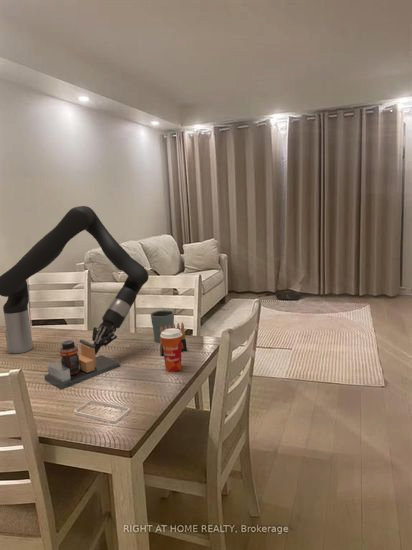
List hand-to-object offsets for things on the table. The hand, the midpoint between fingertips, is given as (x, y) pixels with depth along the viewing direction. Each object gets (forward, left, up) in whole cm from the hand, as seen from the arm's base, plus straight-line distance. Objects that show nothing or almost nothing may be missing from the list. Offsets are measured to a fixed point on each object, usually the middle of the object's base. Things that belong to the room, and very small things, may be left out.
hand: (92, 353), depth 145 cm
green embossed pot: (+28, +23, -6) cm, 37 cm away
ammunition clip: (+30, +6, -6) cm, 31 cm away
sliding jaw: (-2, -2, -4) cm, 5 cm away
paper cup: (+28, -9, -6) cm, 30 cm away
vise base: (-3, -3, -6) cm, 7 cm away
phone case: (+4, -33, -6) cm, 34 cm away
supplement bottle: (-7, -5, -4) cm, 10 cm away
